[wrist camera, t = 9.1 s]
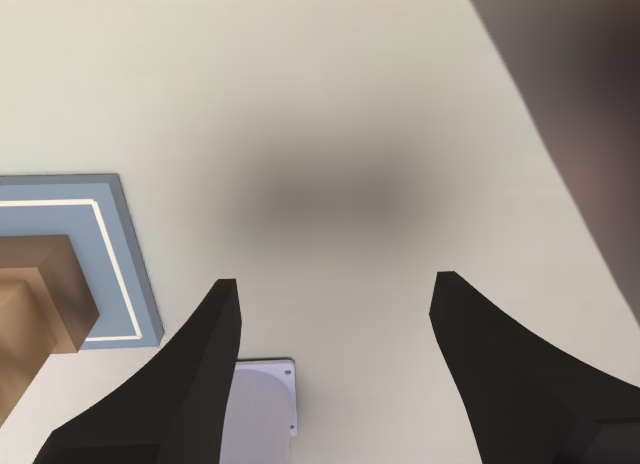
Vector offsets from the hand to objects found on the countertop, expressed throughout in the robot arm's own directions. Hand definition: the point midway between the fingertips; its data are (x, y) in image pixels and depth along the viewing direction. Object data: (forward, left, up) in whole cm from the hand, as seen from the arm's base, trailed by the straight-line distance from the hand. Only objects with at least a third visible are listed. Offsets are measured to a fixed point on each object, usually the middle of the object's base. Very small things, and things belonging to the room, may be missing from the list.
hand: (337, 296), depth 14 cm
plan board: (-5, +17, -9) cm, 20 cm away
